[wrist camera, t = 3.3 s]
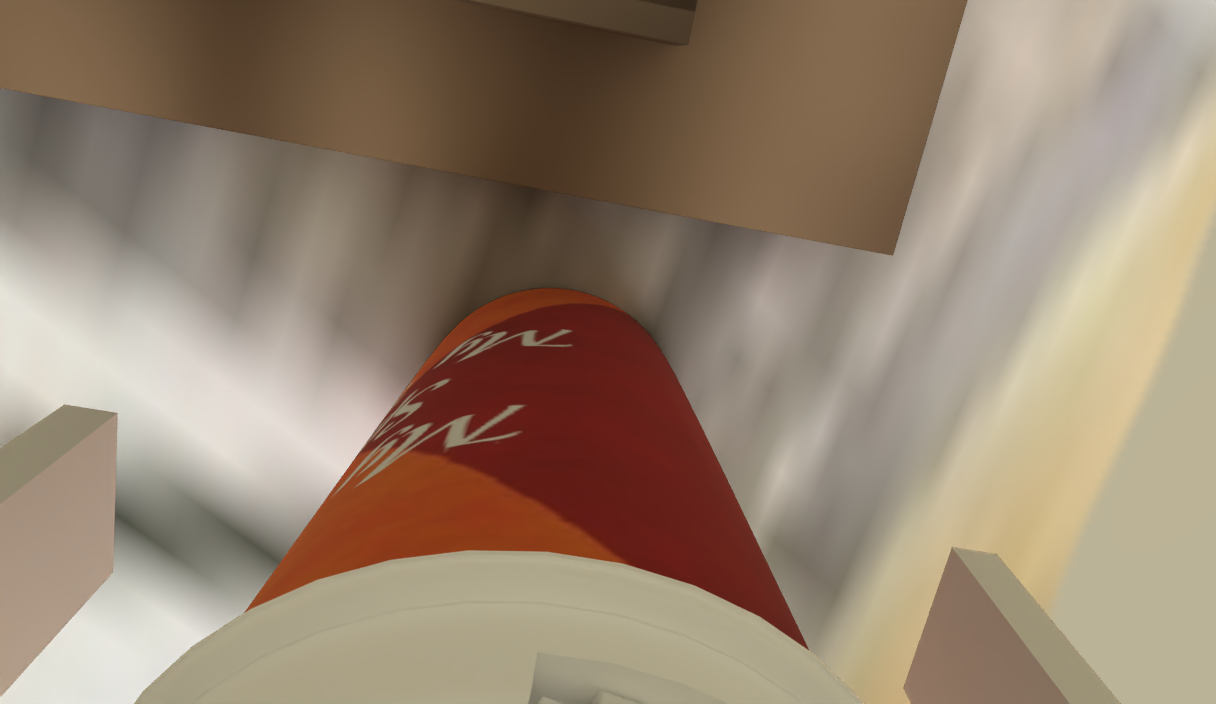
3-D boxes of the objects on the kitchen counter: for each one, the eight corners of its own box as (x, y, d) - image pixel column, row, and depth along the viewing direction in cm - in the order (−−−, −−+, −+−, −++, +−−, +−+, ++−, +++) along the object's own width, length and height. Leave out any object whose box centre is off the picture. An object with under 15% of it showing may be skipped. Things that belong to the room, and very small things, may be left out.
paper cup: (452, 176, 19) (132, 484, 5) (783, 323, 20) (1199, 876, 6) (325, 492, 21) (-130, 1278, 7) (631, 608, 22) (710, 1466, 9)
